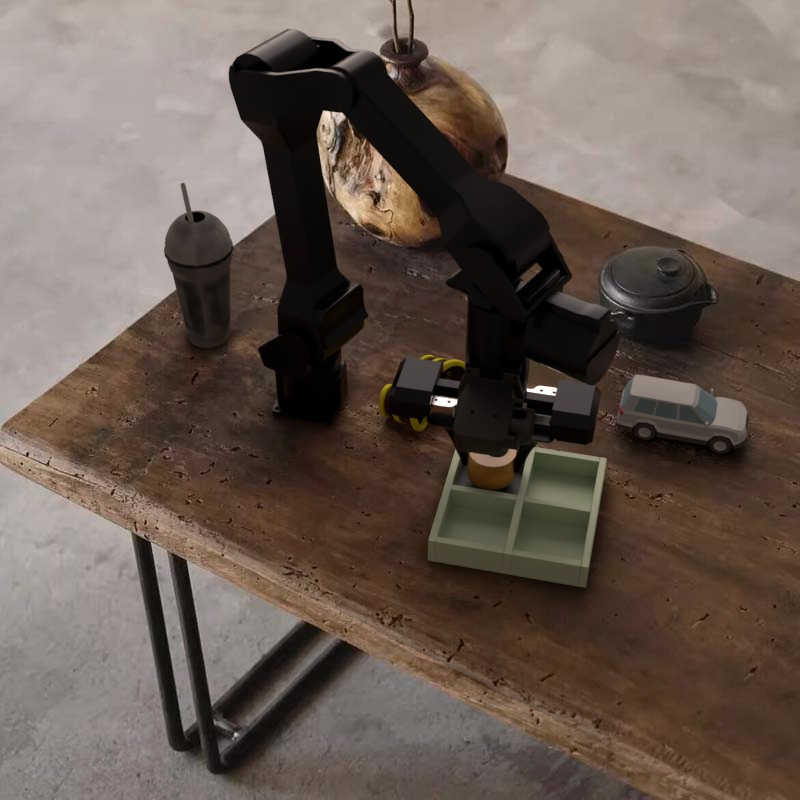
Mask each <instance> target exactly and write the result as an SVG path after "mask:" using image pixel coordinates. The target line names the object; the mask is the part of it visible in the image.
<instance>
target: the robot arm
mask: <svg viewBox="0 0 800 800" xmlns="http://www.w3.org/2000/svg"><path fill="white" fill-rule="evenodd" d="M228 83H229V88H230V90H231V93H232V97H233V99H234V104H235V106H236V109H237V112H238V116H239V118H240V120H241V122H242V123H243V124H244V125H245V126H246V128H248V129H249V130H250V131H251V132H252V133H253V135H255V137H256V138H257V139H258V140H259V141H260V143H261V145H262V149H263V156H264V162H265V167H266V172H267V177H268V182H269V188H270V194H271V199H272V203H273V210H274V216H275V220H276V225H277V233H278V237H279V242H280V249H281V253H282V258H283V265H284V269H285V274H286V275H285V278H286V279H285V282H284V286H283V289H282V291H281V295H280V297H279V301H278V305H277V307H276V308H277V309H276V314H277V315H276V317H277V333H276V334H274V335H273V336H272V337H270V338H269V339H268V340H266V342H263V344H261V345H260V346H258V348H257V352H258V354H259V357H260V359H261V362H262V364H263V366H264V367H265V368H266V369H267V368H268V369H269V370H271V371H273V372H274V376H275V388H276V399H275V401H274V403H273V405H272V407H271V411H272V414H273V415H277V416H283V417H289V418H296V419H302V420H308V421H313V422H321V423H327V424H329V423H333V421H334V420H335V417H336V415H337V413H338V410H339V409H341V407H343V404H344V403H345V399H346V398H347V395H348V391H349V390H348V389H349V388H348V365H347V363H346V361H342V347H344V346H345V345H346V344H347V343H349V342H350V341H351V340H352V339H353V338H354V337H355V336H357V335H358V334H359V333H361V331H362V330H363V328H364V325H365V320H366V319H368V318H369V313H368V311H367V309H366V305H365V301H364V293H365V292H364V287H363V286H362V284H360V283H355V282H352V281H350V279H348V277H346V275H345V274H344V273H342V272H341V270H340V269H339V266H338V263H337V257H336V251H335V243H334V237H333V230H332V225H331V217H330V211H329V205H328V199H327V193H326V185H325V179H324V174H323V168H322V167H323V165H322V161H321V154H320V148H319V142H318V128H319V126H320V122H321V119H322V117H323V113H324V112H331V113H339V114H341V113H342V115H343V116H344V117H345V118H346V119H347V120H348V121H349V123H351V124H352V126H353V127H355V129H356V130H357V131H358V132H359V133H360V134H361V135H362V136H363V138H364V139H365V140H366V141H367V142H368V143H369V144H370V145H371V146H372V148H373V149H375V150H376V152H377V153H378V154H379V155H380V156H381V157H382V158H383V159H384V160H385V161H386V163H387V164H388V165H389V166H391V168H392V169H393V170H394V171H395V173H397V175H399V177H400V178H401V179H402V180H403V181H404V183H405V184H406V185H408V187H409V188H410V189H411V190H412V191H413V192H414V193H415V194H416V195H417V196H418V198H419V199H420V200H421V201H422V202H423V203H424V204H425V205H426V206H427V208H428V209H429V210H430V211H431V212H432V214H433V216H435V218H436V219H437V222H438V227H439V231H440V234H441V238H442V239H441V240H442V243H443V246H444V248H445V249H446V250H447V252H448V254H449V255H450V256H451V258H452V259H453V260H454V262H455V264H457V267H459V268H458V269H457V270H456V271H454V272H453V273H452V274H451V275H450V276H449V277H448V278H446V280H445V285H446V286H447V287H448V288H451V289H453V290H455V291H458V292H461V293H463V294H466V295H467V304H466V305H467V306H466V307H467V308H466V331H465V332H466V333H465V334H466V335H465V359H464V360H465V361H464V363H465V370H464V375H463V377H462V379H461V381H454V380H447V379H440V377H442V375H443V372H444V363H442V362H438V361H431V360H424V359H420V358H417V357H411V356H410V357H409V356H406V357H404V359H403V360H401V361H400V362H399V365H398V368H397V371H396V373H395V376H394V379H393V381H392V383H391V384H392V386H391V390H390V396H389V411H390V412H391V413H392V414H393V415H395V416H401V417H407V418H414V419H420V420H421V419H423V418H425V417H426V416H427V419H426V420H427V423H428V424H427V425H429V426H433V427H438V428H441V429H444V430H445V432H446V433H447V435H448V436H449V438H450V440H451V442H452V444H453V447H454V448H455V449H456V451H457V453H458V455H459V457H460V459H461V461H462V464H463V465H467V463H468V453H470V452H472V453H478V454H484V455H489V456H491V457H503V456H504V455H506V454H507V453H508V451H509V449H513V450H517V455H516V459H515V463H514V473H518V472H519V471H520V469H521V467H522V466H523V464H524V462H525V460H526V459H527V457H528V455H529V454H530V452H531V451H532V449H533V448H534V447H536V446H537V445H538V444H539V443H541V444H551V443H553V442H554V441H555V440H556V441H557V442H564V443H570V444H575V445H582V446H588V445H589V444H591V443H593V442H594V436H595V431H596V427H597V420H598V414H599V409H600V404H601V395H602V391H601V389H600V388H599V386H598V385H597V384H598V383H600V381H601V380H602V379H603V378H604V376H605V375H606V374H607V372H608V370H609V369H610V367H611V365H612V363H613V361H614V359H615V357H616V354H617V351H618V348H619V344H620V340H621V331H619V330H620V329H619V324H618V322H616V321H615V320H613V319H612V318H611V317H612V311H611V309H609V308H608V307H605V306H603V305H600V304H596V303H592V302H591V303H590V302H587V301H585V300H582V299H581V298H577V297H575V296H573V295H570V294H567V293H565V292H564V287H565V286H566V284H567V283H569V282H570V281H571V280H572V278H573V273H572V271H571V269H570V267H569V265H568V264H567V262H566V260H565V256H564V255H563V254H562V252H561V251H560V248H559V246H558V245H557V243H556V241H555V240H554V238H553V235H552V234H551V232H550V230H551V227H550V224H549V222H548V220H547V219H546V217H545V216H544V214H543V213H542V212H541V211H540V210H539V209H538V208H537V207H536V206H535V205H533V204H532V203H531V202H530V201H529V200H528V199H526V198H525V197H524V196H523V195H521V194H520V193H519V192H518V191H517V190H515V188H513V187H512V186H511V185H508V184H505V183H502V182H501V181H497V180H495V179H492V178H489V177H486V176H485V175H483V174H482V173H481V172H479V171H478V169H476V168H475V167H474V166H473V165H472V164H471V163H470V161H468V160H467V158H465V156H464V155H463V154H462V153H461V152H460V151H459V150H458V149H457V148H456V147H455V145H453V144H452V142H451V141H450V140H449V139H448V138H447V137H446V135H444V133H442V131H441V130H440V129H439V128H438V127H437V126H436V124H434V123H433V122H432V120H431V119H429V117H428V116H427V115H426V114H425V113H424V111H422V109H420V107H418V105H417V104H416V103H415V102H414V101H413V100H412V99H411V98H410V96H409V95H408V94H407V93H406V92H405V91H404V90H403V89H402V88H401V87H400V85H398V83H397V82H396V81H395V80H394V79H393V78H392V76H390V74H389V72H388V68H387V66H386V63H385V62H384V60H383V59H382V58H381V57H380V56H379V55H378V54H377V53H376V52H373V51H371V50H367V49H359V48H358V49H357V48H356V49H355V48H351V47H350V46H348V45H347V44H345V43H344V42H342V41H341V40H340V39H337V38H329V37H320V36H319V37H318V36H309V35H308V34H306V33H305V32H304V31H302V30H298V29H295V28H286V29H284V30H283V31H281V32H278V33H277V34H275V35H273V36H272V37H270V38H269V39H267V40H265V41H263V42H261V43H260V44H258V45H255V46H254V47H252V48H251V49H249V50H247V51H245V52H243V53H242V54H240V55H237V56H236V58H235V59H234V60H233V61H232V63H231V65H229V68H228ZM535 264H537V265H538V266H539V268H540V269H541V270H539V271H538V272H537V273H536V274H535V275H534V276H533V277H532V278H530V279H529V280H528V281H527V282H525V281H524V279H523V278H522V277H523V275H524V274H526V273H527V272H529V270H530V269H531V268H533V266H535ZM530 361H533V362H534V363H537V364H539V365H541V366H544V367H546V368H548V369H551V370H553V371H555V372H557V373H560V374H562V375H565V376H567V377H569V378H571V379H574V380H577V381H573V380H567V379H558V382H557V386H556V387H553V386H545V385H537V386H535V387H534V388H528V386H529V373H530Z"/></svg>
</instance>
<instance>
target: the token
mask: <svg viewBox="0 0 800 800" xmlns="http://www.w3.org/2000/svg"><path fill="white" fill-rule="evenodd" d="M516 455H517V450H513V449H509V451H508V453H507V454H506V455H504V456H503V457H491V456H489V455H484V454H478V453H472V452H470V453H468V463H467V476H468V478H469V480H470V481H471V482H472V483H473V484H474V485H476V486H478V487H480V488H483V489H487V490H497V489H502V488H504V487H506V486H508V485H509V484H510V483H511V482H512V481H513V480H514V477H515V473H514V463H515V459H516Z"/></svg>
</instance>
